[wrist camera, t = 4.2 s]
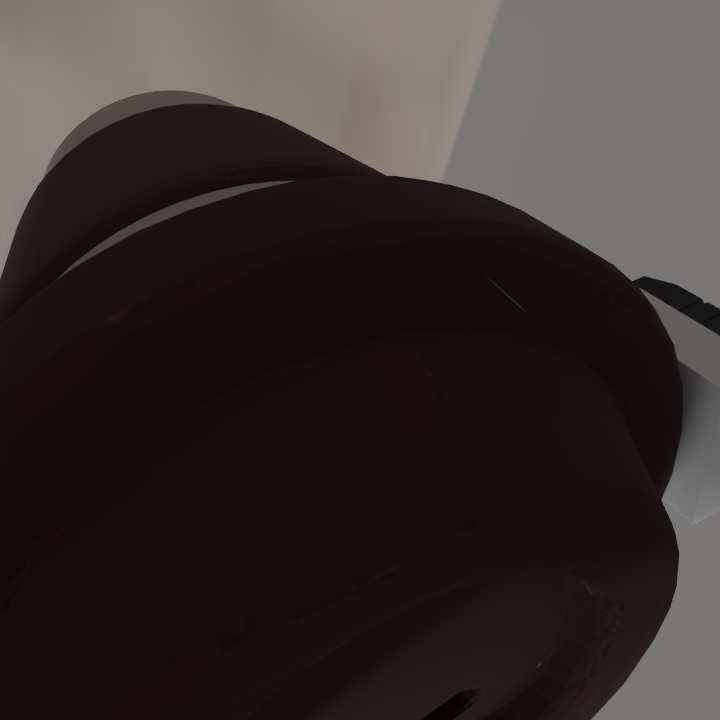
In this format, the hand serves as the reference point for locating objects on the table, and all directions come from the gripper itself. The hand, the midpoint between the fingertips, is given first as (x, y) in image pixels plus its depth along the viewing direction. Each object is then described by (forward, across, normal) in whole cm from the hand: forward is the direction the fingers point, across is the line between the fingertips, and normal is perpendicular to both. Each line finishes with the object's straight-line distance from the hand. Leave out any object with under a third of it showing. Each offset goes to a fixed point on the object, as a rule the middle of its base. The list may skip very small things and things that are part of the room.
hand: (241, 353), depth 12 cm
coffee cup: (+8, 0, 0) cm, 8 cm away
